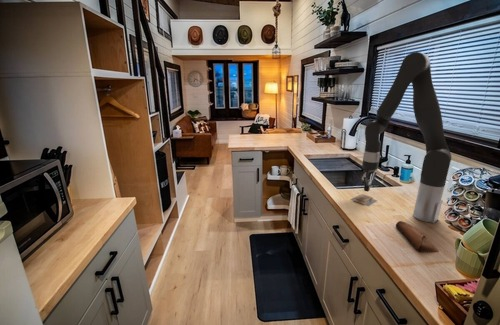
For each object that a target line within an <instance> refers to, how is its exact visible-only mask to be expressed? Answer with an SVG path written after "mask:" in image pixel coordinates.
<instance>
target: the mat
mask: <svg viewBox="0 0 500 325" xmlns="http://www.w3.org/2000/svg"><path fill="white" fill-rule="evenodd" d="M359 195H360V194H358V195H357V196H359ZM357 196H355V197H357ZM355 197H353V198H351V199H350V201H353V202H355V203H357V204H361V205H363V206H366V207H369V206H371V205H373V204H374V203H377V202H378V199H377V200H376V199H374V198H373V200H372V201H370V202H369V203H367V204H365V205H364V204H362V203H359V202H356V201H354V198H355Z"/></svg>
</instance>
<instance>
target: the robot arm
mask: <svg viewBox="0 0 500 325" xmlns="http://www.w3.org/2000/svg"><path fill="white" fill-rule="evenodd" d="M432 77H433V76H432V69H431V60H430V56H428V54H426V53H425V52H420V51H413V52H411V53H409V54H407V55H406V56H405V57H404V58H403V60H402V62H401V64H400V67H399V69H398V72H397V74H396V77H395V78H394V80H393V83H392V85H391V87H390V88H389V90H388V91H387V94H386V95H385V97H384V99H383V100H382V101H381V104H380V105H379V107H378V109H377V110H376V116H375V119H374V120H373V121H370V122H369V121H368V123H367V124H366V126H365V129H364V136H365V137H364V138H365V145H364V146H365V147H364V152H363V157H362V162H361V163H362V165H361V167H362V169H363V175H361V176H360V181H361V184H362V185H364V186H363V191H364V192H367V193H368V192H369V191H370V187H371V185H372V183H374V180H375V179H376V176H377V172H375V171H377V170H378V169H379V165H380V164H379V163H380V157H381V147H382V146H381V145H382V142H381V140H380V134H383V133H384V132H385V130H386V129H387V127H388V125H389V123H390V121H391V118H392V116H393V115H394V114H395V112H396V111H397V109H398V107H399V106H400V104H401V102H402V100H403V97H404V95H405V93H406V91H407V90H408V87H410V84H411V86H412V91H413V92H412V108H413V113H414V117H415V121H416V124H417V127H418V129H419V130H420V133H421V134H422V137H423V140H424V145H425V152H426V154H425V155H424V157H423V162H422V165H421V166H422V167H421V172H420V180H419V185H418V190H417V194H416V199H415V202H414V203H415V204H414V209H413V212H412V216H413V217H414V218H415V219H417V220H419V221H423V222H424V223H425V222H426V223H431V224H435V223H436V222H437V221H439V220H438V219H439V216H440V213H441V209H442V206H443V205H442V203H443V194H444V190H445V186H446V182H447V177H448V173H449V170H450V166H451V162H452V153H451V152H450V149H449V146H448V143H447V140H446V138H445V133H444V123H443V116H442V111H441V106H440V103H439V99H438V96H437V94H436V90H435V87H434V86H435V85H434V84H433V83H434V82H433V79H432Z"/></svg>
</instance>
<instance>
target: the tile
mask: <svg viewBox="0 0 500 325" xmlns="http://www.w3.org/2000/svg"><path fill="white" fill-rule="evenodd" d="M358 195H359V196H358ZM358 195H357V197H356V196H355V198H354V197H353V198H354V201H353V202H355V201H356V202H355V203H358V202H359V203H358V204H361V203H362V204H361V205H363V204H364V205H363V206H366V205H365V204H367V203H369V202H370V201H372V200H373V199H374V197H372V196H370V195H366V194H363V193H360V194H358Z"/></svg>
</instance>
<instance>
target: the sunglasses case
mask: <svg viewBox="0 0 500 325" xmlns="http://www.w3.org/2000/svg"><path fill="white" fill-rule="evenodd" d="M395 227H396V228H397V229H398V230H399V231H400V232H401V233H402V234H403V235H404V236H405V237H406V239H407V240H408V241H409V242H410V243H411V244H412V245H413V246H414V248H415V249H416V250H417V251H418V252H419V253H440V251H439V250H438V248H437V246H435V245H434V244H433V243H432V242H431V241H430V240H429V238H428V237H427V236H426V234H425V233H424V232H422V230H420V229H419V228H417V227H416V226H413V225H411V224H410V223H407V222H405V221H402V220H399V221H397V222H396V224H395Z"/></svg>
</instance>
